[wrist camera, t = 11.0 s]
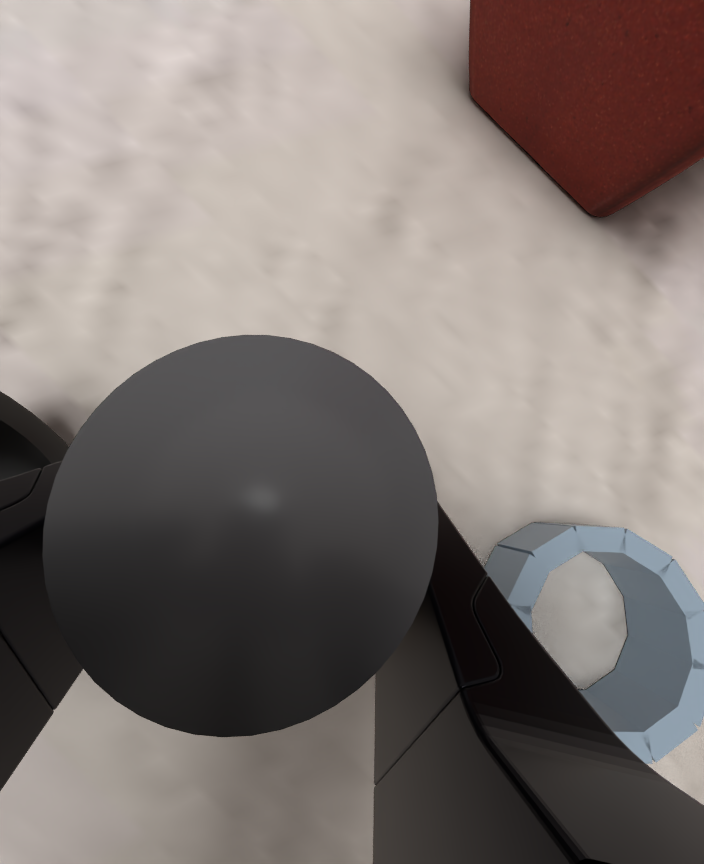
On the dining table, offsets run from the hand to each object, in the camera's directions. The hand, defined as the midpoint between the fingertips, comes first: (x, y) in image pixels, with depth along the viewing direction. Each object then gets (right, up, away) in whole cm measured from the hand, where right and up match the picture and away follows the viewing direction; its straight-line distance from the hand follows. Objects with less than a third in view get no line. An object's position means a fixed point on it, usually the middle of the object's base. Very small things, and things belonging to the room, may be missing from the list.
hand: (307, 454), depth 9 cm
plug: (-1, -3, +6) cm, 7 cm away
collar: (+11, -8, +8) cm, 16 cm away
